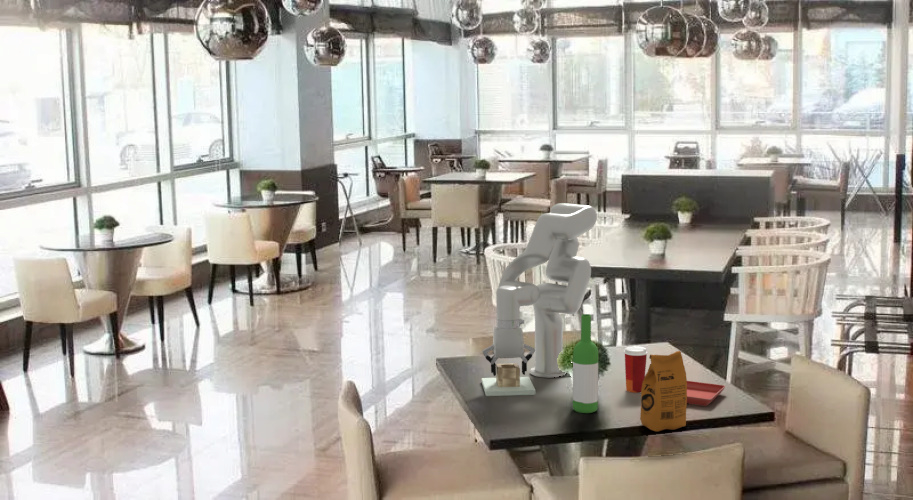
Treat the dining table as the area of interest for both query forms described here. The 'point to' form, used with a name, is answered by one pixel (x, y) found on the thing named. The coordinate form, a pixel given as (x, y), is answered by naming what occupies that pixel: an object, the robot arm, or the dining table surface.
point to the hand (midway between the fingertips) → (508, 374)
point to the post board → (494, 390)
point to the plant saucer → (702, 392)
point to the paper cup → (635, 368)
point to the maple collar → (508, 375)
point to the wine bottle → (585, 370)
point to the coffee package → (664, 393)
